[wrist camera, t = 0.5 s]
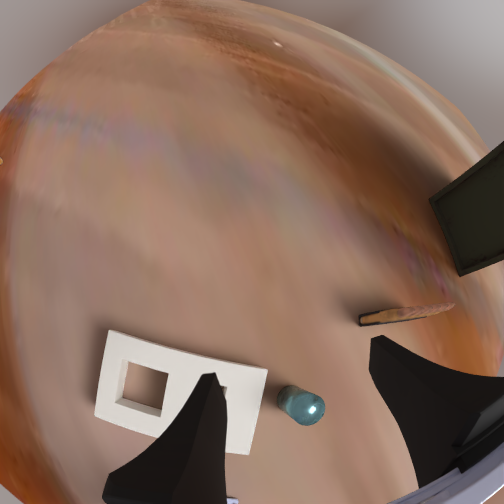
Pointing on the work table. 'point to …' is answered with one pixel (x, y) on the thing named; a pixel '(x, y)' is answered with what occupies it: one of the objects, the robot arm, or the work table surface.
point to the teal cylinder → (301, 405)
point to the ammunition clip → (402, 314)
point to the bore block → (177, 388)
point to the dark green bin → (474, 214)
